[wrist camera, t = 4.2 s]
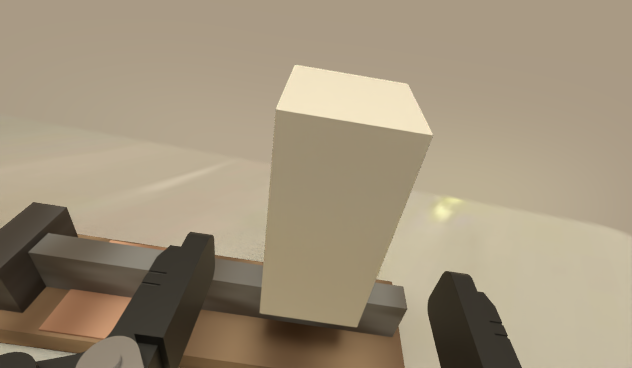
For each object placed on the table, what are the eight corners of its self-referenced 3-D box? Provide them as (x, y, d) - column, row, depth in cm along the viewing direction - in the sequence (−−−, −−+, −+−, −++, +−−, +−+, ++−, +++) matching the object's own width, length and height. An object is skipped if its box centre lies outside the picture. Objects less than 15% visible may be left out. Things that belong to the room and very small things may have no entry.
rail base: (386, 294, 24) (406, 248, 22) (399, 398, 19) (429, 354, 16) (61, 245, 24) (37, 191, 21) (-28, 338, 18) (-78, 281, 15)
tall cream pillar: (349, 267, 21) (407, 83, 14) (351, 340, 17) (433, 135, 10) (274, 255, 21) (294, 64, 14) (258, 327, 17) (275, 109, 10)
